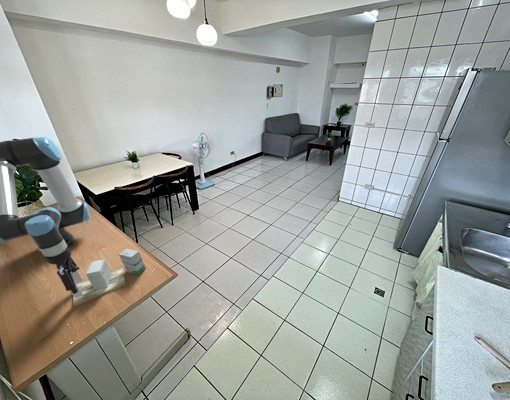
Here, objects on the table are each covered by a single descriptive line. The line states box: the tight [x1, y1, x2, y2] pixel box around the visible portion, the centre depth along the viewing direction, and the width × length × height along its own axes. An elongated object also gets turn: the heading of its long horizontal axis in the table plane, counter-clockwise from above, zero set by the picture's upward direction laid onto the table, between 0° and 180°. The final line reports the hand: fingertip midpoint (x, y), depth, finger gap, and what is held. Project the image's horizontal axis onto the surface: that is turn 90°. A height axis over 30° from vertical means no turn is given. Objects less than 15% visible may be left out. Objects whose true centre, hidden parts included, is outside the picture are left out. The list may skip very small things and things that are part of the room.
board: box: [72, 266, 126, 308], centre depth 102 cm, size 13×20×1 cm, turn 124°
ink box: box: [118, 248, 146, 276], centre depth 107 cm, size 9×5×12 cm, turn 71°
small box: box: [85, 259, 112, 290], centre depth 100 cm, size 8×6×10 cm
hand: (79, 288), depth 97 cm, fingers open, 9 cm apart
